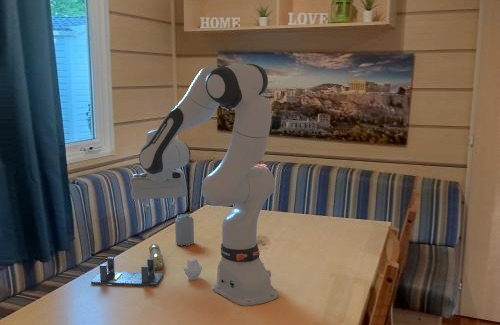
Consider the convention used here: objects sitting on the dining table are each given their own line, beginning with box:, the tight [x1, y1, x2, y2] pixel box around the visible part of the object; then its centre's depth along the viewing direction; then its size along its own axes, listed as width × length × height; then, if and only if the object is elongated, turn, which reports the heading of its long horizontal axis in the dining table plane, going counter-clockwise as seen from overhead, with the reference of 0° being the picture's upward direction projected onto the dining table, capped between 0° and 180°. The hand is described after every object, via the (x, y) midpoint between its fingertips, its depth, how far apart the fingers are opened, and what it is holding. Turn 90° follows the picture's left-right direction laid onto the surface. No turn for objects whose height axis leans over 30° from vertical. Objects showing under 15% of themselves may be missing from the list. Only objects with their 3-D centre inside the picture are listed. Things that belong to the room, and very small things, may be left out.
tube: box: [148, 243, 165, 271], centre depth 185 cm, size 18×4×4 cm, turn 15°
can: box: [174, 213, 195, 246], centre depth 205 cm, size 8×8×12 cm
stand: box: [90, 256, 164, 288], centre depth 168 cm, size 22×9×6 cm, turn 85°
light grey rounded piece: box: [183, 258, 203, 281], centre depth 170 cm, size 6×6×7 cm
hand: (159, 209), depth 184 cm, fingers open, 8 cm apart
